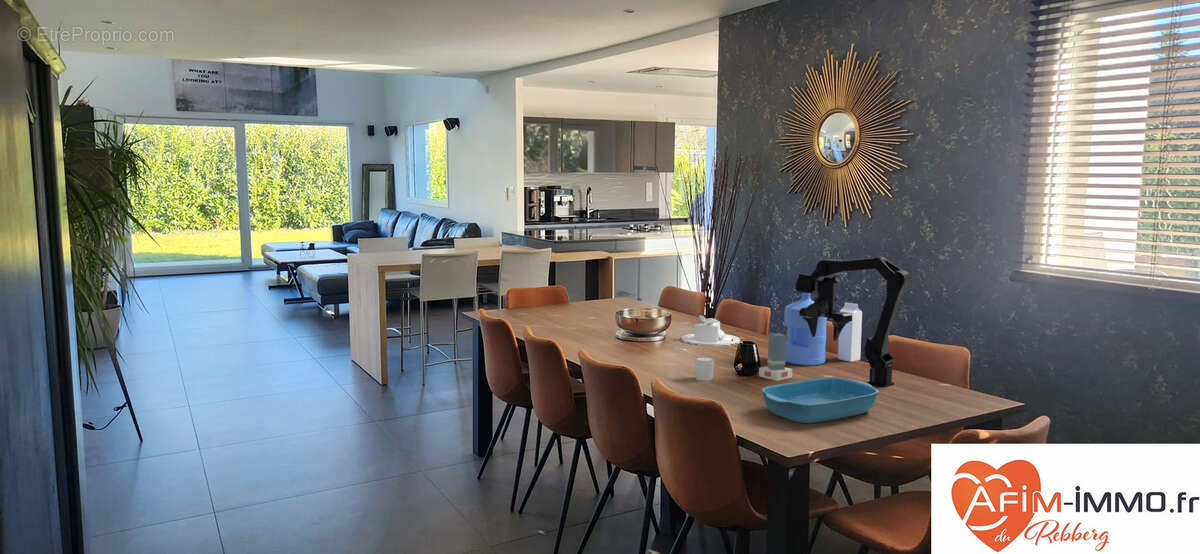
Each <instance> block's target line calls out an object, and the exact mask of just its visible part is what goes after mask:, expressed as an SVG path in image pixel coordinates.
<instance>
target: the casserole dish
mask: <svg viewBox="0 0 1200 554" xmlns="http://www.w3.org/2000/svg"><path fill="white" fill-rule="evenodd" d="M761 393H762V396H763V399H764V403H765V406H766V408H767V409H768V411H770V412H771V413H772V414H774V415H776V416H779V417H782V418H783V419H787V420H789V421H793V422H796V423H800V424H815V423H822V422H827V421H828V422H829V421H834V420H839V419H842V418H843V419H845V418H848V417H854V416H857V415H862V414H865V413H867V412H868V411H869V410H871V408H872V407H873V406H874V404H875V401H876V399H877V396H878V394H879V390H878V389H877V388H876V387H874V386H873V385H872V384H869V383H867V382H865V381H860V380H856V379H848V378H842V377H828V376H827V377H820V378H818V377H817V378H812V379H806V380H798V381H791V382H787V383H778V384H774V385H773V384H772V385H769V386H765V387H763V388H762V389H761Z"/></svg>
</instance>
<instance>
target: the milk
mask: <svg viewBox="0 0 1200 554" xmlns="http://www.w3.org/2000/svg"><path fill="white" fill-rule="evenodd" d="M839 312H845V313H850V314H851V315H852V321H850V322H849V323H847V324H846V325H845V326H844V328H843V329H842V331H841V333H840V335H839V337H838V345H837V346H838V349H837V359H838V360H841V361H845V362H850V363H851V362H857V361H861V353H862V351H861V350H862V349H861V347H862V323H863V321H862V320H863V311H862V310H861V309H860V308H859V303H853V302H844V306H843V307H842V308H841V309H840V311H839Z"/></svg>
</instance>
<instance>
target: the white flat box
mask: <svg viewBox="0 0 1200 554" xmlns="http://www.w3.org/2000/svg"><path fill="white" fill-rule="evenodd" d="M758 377H761V378H764V379H767V380H768V379H769V380H772V381H775V382H776V381H782V380H786V379H790V378H791V379H792V378H793V368H789V367H785V370H771V369H770V368H768V365H766V366H763V367H759V369H758Z"/></svg>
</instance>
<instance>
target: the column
mask: <svg viewBox="0 0 1200 554" xmlns="http://www.w3.org/2000/svg"><path fill="white" fill-rule="evenodd" d="M786 337H787V335H785V334H783V333H780V332H779V333H768V341H767V342H768V344H767V345H768V346H767V366H768V368H770V369H771V370H785V368H786V362H785V343H786V341H787V339H786Z"/></svg>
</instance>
